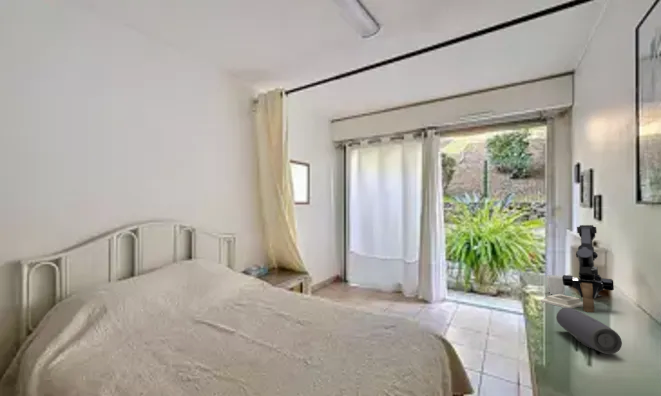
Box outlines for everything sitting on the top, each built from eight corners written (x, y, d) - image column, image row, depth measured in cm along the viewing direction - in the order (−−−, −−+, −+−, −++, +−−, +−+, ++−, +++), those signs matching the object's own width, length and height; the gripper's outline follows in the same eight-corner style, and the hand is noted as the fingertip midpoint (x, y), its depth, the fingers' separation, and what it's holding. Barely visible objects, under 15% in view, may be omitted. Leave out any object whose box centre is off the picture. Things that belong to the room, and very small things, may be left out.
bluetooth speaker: (625, 359, 97) (623, 327, 98) (592, 357, 99) (589, 326, 100) (582, 332, 120) (580, 306, 120) (555, 331, 122) (553, 305, 122)
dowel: (586, 309, 146) (584, 282, 147) (596, 311, 142) (594, 283, 143) (581, 310, 145) (579, 282, 145) (591, 313, 141) (589, 284, 142)
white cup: (545, 294, 175) (544, 276, 175) (553, 292, 178) (552, 274, 179) (560, 297, 168) (559, 278, 168) (568, 295, 171) (567, 277, 172)
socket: (558, 298, 166) (557, 292, 166) (587, 305, 153) (587, 298, 153) (540, 301, 161) (540, 295, 161) (569, 308, 148) (569, 302, 148)
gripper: (561, 258, 154) (560, 285, 145) (611, 261, 142) (614, 290, 133) (564, 272, 159) (563, 298, 151) (612, 275, 147) (615, 304, 138)
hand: (587, 297), depth 143 cm, fingers closed on dowel, 4 cm apart
